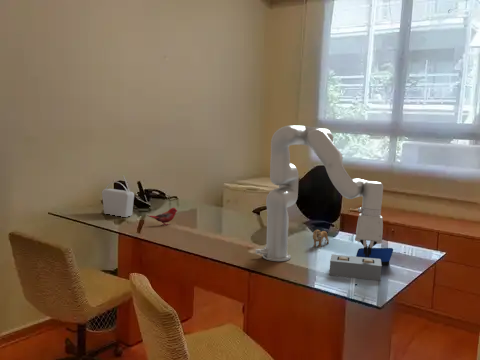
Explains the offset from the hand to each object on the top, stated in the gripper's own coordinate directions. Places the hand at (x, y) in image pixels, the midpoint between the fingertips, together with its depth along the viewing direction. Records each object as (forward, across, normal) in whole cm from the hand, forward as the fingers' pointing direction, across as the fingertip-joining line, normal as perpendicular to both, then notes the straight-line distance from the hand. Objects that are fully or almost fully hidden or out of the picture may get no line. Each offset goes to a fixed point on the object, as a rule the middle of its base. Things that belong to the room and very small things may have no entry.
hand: (367, 256), depth 199 cm
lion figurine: (+9, -21, +40) cm, 46 cm away
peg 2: (+8, +1, 0) cm, 8 cm away
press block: (+8, -4, 0) cm, 9 cm away
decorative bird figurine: (+12, -111, +52) cm, 124 cm away
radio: (+13, -147, +69) cm, 163 cm away
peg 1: (+8, -9, 0) cm, 12 cm away
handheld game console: (+9, +2, +17) cm, 19 cm away
